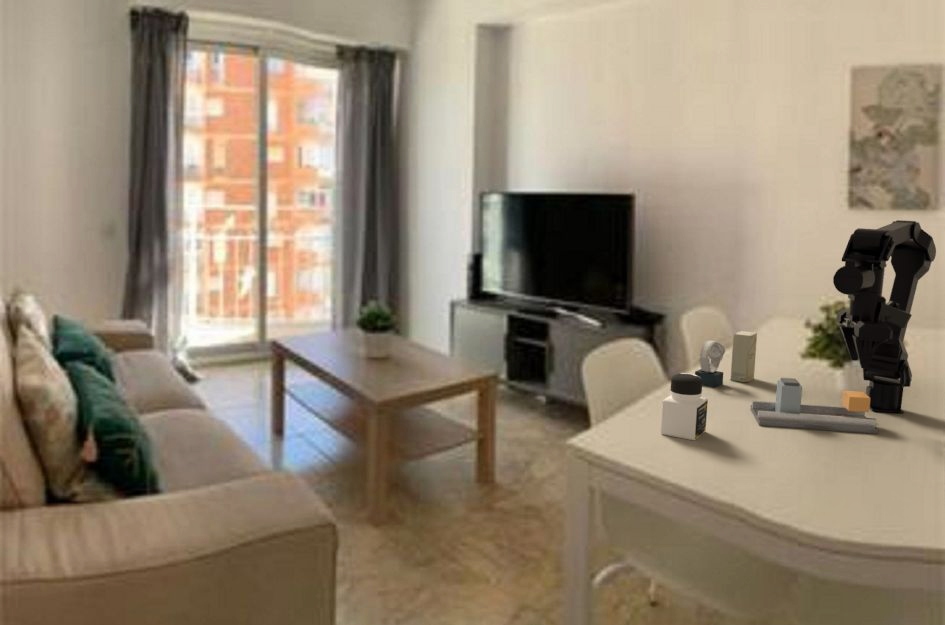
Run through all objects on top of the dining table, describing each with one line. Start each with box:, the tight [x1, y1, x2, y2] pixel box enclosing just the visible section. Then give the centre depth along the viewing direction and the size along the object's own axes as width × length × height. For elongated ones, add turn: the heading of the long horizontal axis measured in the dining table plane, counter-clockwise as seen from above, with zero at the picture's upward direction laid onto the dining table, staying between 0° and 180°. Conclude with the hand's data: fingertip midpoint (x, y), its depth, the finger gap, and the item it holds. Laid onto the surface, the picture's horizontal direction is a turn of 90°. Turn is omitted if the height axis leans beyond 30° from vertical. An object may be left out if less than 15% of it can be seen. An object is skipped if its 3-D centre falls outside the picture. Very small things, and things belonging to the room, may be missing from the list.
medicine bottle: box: [660, 372, 709, 441], centre depth 159 cm, size 7×7×12 cm
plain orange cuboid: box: [841, 390, 870, 413], centre depth 167 cm, size 4×5×3 cm
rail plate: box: [750, 400, 879, 435], centre depth 169 cm, size 23×12×2 cm, turn 79°
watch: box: [694, 339, 726, 389], centre depth 198 cm, size 6×8×11 cm
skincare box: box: [730, 330, 758, 383], centre depth 203 cm, size 6×4×12 cm
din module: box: [775, 377, 803, 413], centre depth 169 cm, size 4×5×8 cm
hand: (859, 364), depth 166 cm, fingers open, 7 cm apart
